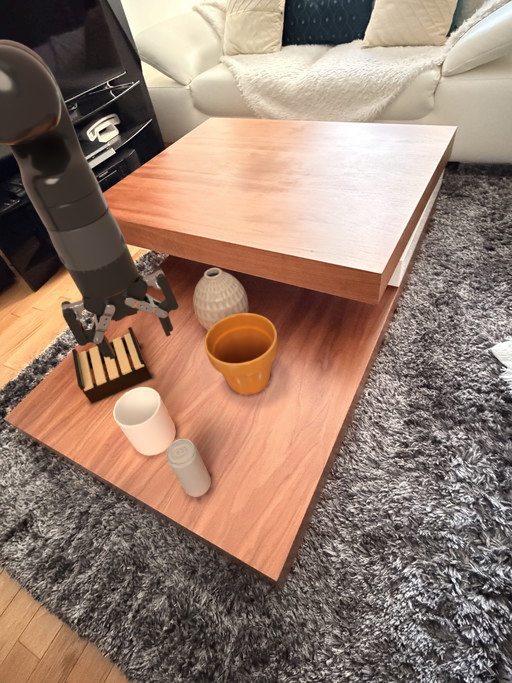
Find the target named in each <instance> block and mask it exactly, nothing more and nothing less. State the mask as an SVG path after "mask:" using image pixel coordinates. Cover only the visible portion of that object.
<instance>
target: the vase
mask: <svg viewBox="0 0 512 683" xmlns="http://www.w3.org/2000/svg"><path fill="white" fill-rule="evenodd" d="M192 307H193V312H194V314H195V317H196V319H197V321H198V322H199V324H200V325H201V326H202V327H203V328H204V329H205V330H207V332H208V331H209V329H210V328H211V327H212V326H213V325H214V324H215V323H217V322H218V321H220V320H221V319H223V318H225V317H228V316H230V315H234V314H239V313H249V299H248V295H247V292H246V290H245V288H244V286H243V284H242V283H241V282H240V280H238V279H237V278H236V277H235V276H233V275H232V274H231V273H228V272H226V271H224V270H222V269H221V268H218V267H211V268H208V269H207V270H205V271H204V273H203V276H202V277H201V278H200V279H199V281H198V282H197V284H196V285H195V287H194V291H193V296H192Z"/></svg>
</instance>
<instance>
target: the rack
mask: <svg viewBox="0 0 512 683" xmlns="http://www.w3.org/2000/svg"><path fill="white" fill-rule="evenodd" d="M132 327H133V326H129V327H127V329H128V332H129V333H126V334H123V337H122V336H119V337H116V338H113V339H112V341H109V343H110V345H111V346H112V348H113V350H114V353H115V357H116V358H114V359H112V360H111V359H110V358H109V357H107V358H105V357H104V356H103V355H102V353H101V352H100V350H99V348H98V347H97V345H95V346H93V347H91V348H88V351H86V350H83V351H80V352H78V350H77V349H76V348H73V349H71V353H72V358H73V364H74V369H75V375H76V381H77V387H78V388H79V389H80V390H81V391H82V393H83V395H85V397H86V398H87V400H88V401H89V402H90V404H91V405H93V404H95V403H97V402H101V401H102V400H104V399H107V398H109V397H111V396H114V395H116V394H118V393H120V392H123V391H125V390H127V389H128V390H129V389H130V388H132V387H135V386H137V385H139V384H141V383H144V382H146V381H149V380H151V379H153V375H152V373H151V371H150V369H149V367H148V364H146V362H145V359H144V356H143V353H142V351H141V349H142V345H141V344H140V342H139V340H138V338H137V335H136V333H135V331H134V330H133V328H132ZM128 355H130V359H131V362H132V364H133V367H131V364H130V361H129V357H128ZM116 359H117V360H118V361H117V362H118V364H119V367H120V371H121V372H119V370H118V366H117V363H116ZM104 364H105V367H106V370H107V374H108V377H107V376H106V373H105V368H104ZM91 370H93V375H94V380H95V383H94V380H93V376H92V372H91Z"/></svg>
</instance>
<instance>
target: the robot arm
mask: <svg viewBox="0 0 512 683" xmlns="http://www.w3.org/2000/svg"><path fill="white" fill-rule="evenodd" d="M0 145H2V146H3V145H6V146H8V148H9V150H10V151H11V153H12V155H13V157H14V158H15V160H16V162H17V165H18V167H19V171H20V175H21V181H22V184H23V187H24V189H25V190H24V191H25V192H26V194H27V196H28V198H29V200H30V202H31V203H32V205H33V206H32V207H34V209H35V211H36V213H37V214H38V216H39V218H40V220H41V222H42V224H43V225H44V227H45V228H46V231H47V232H48V236H49V238H50V240H51V243H52V245H53V248H54V249H55V251H56V253H57V254H58V255H57V256H58V259H59V260H60V261H61V264H63V265H64V267H65V269H66V271H67V272H68V274H69V276H70V277H71V279H72V281H73V282H74V285H75V286H76V288H77V289H78V291H79V293H80V295H81V297H82V298H81V300H78V301H75V302H71V301H68V300H65V301H62V302H61V304H60V305H61V312H62V317H63V319H64V321H65V323H66V324H67V326H68V329H69V330H70V332H71V334H72V335H73V337H74V339H75V341H76V343H77V344H78V346H80V347H84V346H87V345H88V344H91V343H92V344H95V346H97V347H98V348H99V350H100V352H101V353H102V355H103V356H104V357H105V358H107V357H109V358H110V359H111V360H112V359H114V358H116V357H115V353H114V350H113V348H112V346H111V345H110V343H109V342H110V341H109V339H108V338H107V335H106V332H108V329H109V327H110V324H111V321H114V322H119V321H121V320H123V319H125V318H126V317H130V316H134V315H137V314H138V312H139V311H142V312H144V314H145V313H146V314H148V315H154V316H155V317H158V320H159V323H160V325H161V328H162V330H163V332H164V334H165V336H166V337H170V336H171V335H172V334H171V332H173V331H174V326H173V324H172V320H171V319H170V312H171V311H176V310H178V308H179V303H178V300H177V299H176V297H175V294H174V292H173V290H172V288H171V285H170V283H169V281H168V278H167V277H166V275H165V273H164V271H163V269H162V268H161V267H155V268H154V269H153V271H152V272H153V273H151V274H148V275H146V276H142V275H141V274H140V273H139V270H138V268H137V266H136V264H135V262H134V259H133V256H132V253H131V252H130V250H129V247H128V245H127V242H126V238H125V236H124V234H123V232H122V230H121V228H120V226H119V224H118V222H117V220H116V218H115V216H114V215H113V212H112V211H111V209H110V207H109V205H108V203H107V200H106V198H105V196H104V192H103V191H102V189H101V186H100V184H99V181H98V180H97V177H96V175H95V173H94V171H93V169H92V167H91V166H90V163H89V162H88V160H87V158H86V156H85V154H84V152H83V149H82V146H81V143H80V141H79V138H78V135H77V132H76V130H75V127H74V123H73V121H72V119H71V115H70V114H69V110H68V108H67V105H66V103H65V99H64V97H63V95H62V92H61V89H60V86H59V84H58V82H57V79H56V77H55V75H54V73H53V71H52V70H51V69H50V67H49V65H48V64H47V62H46V61H45V60H44V59H43V58H42V57H41V56H40V55H39V54H38V53H37V52H36V51H34V50H33V49H31V48H30V47H28V46H27V45H24V44H22V43H20V42H17V41H14V40H10V39H0ZM149 287H153V289H154V290H157V291H160V290H161V292H162V294H163V296H164V299H163V300H162V301H159V300H158V299H155V298H154V297H152V296H151V295H150V294H148V293H147V292H148V288H149ZM83 311H86V312H88V313H90V314H93V322H92V325H91V328H90V329H85V327H84V326H83V323H82V321H81V319H82V318H83ZM116 359H117V358H116Z"/></svg>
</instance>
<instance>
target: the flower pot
mask: <svg viewBox="0 0 512 683" xmlns="http://www.w3.org/2000/svg"><path fill="white" fill-rule="evenodd" d="M278 341H279V340H278V332H277V328H276V327H275V325H274V323H273V322H272V321H271V320H270V319H268V318H267V317H265V316H263V315H261V314H258V313H252V312H248V313H239V314H234V315H230V316H228V317H225V318H223V319H221V320H220V321H218V322H217V323H215V324H214V325H213V326H212V327H211V328H210V329H209V331H208V330H207V332H206V334H205V337H204V342H203V343H204V344H203V346H204V350H205V354H206V356H207V358H208V361H209V362H210V363H209V364H211V366H212V368H214V370H216V371H217V372H219V373H220V374H221V375H222V377H224V380H225V381H226V382H227V383H228V385H229V386H230V388H231V389H232V390H233V391H234V392H236V393H238V394H240V395H245V396H247V395H248V396H249V395H254V394H258V393H259V392H262V391H263V390H264V389H265V388H266V387H267V386H268V384H269V381H270V376H271V371H272V365H273V362H274V360H275V358H276V357H277V355H278V354H277V353H278V347H279V345H278V343H279V342H278Z"/></svg>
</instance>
